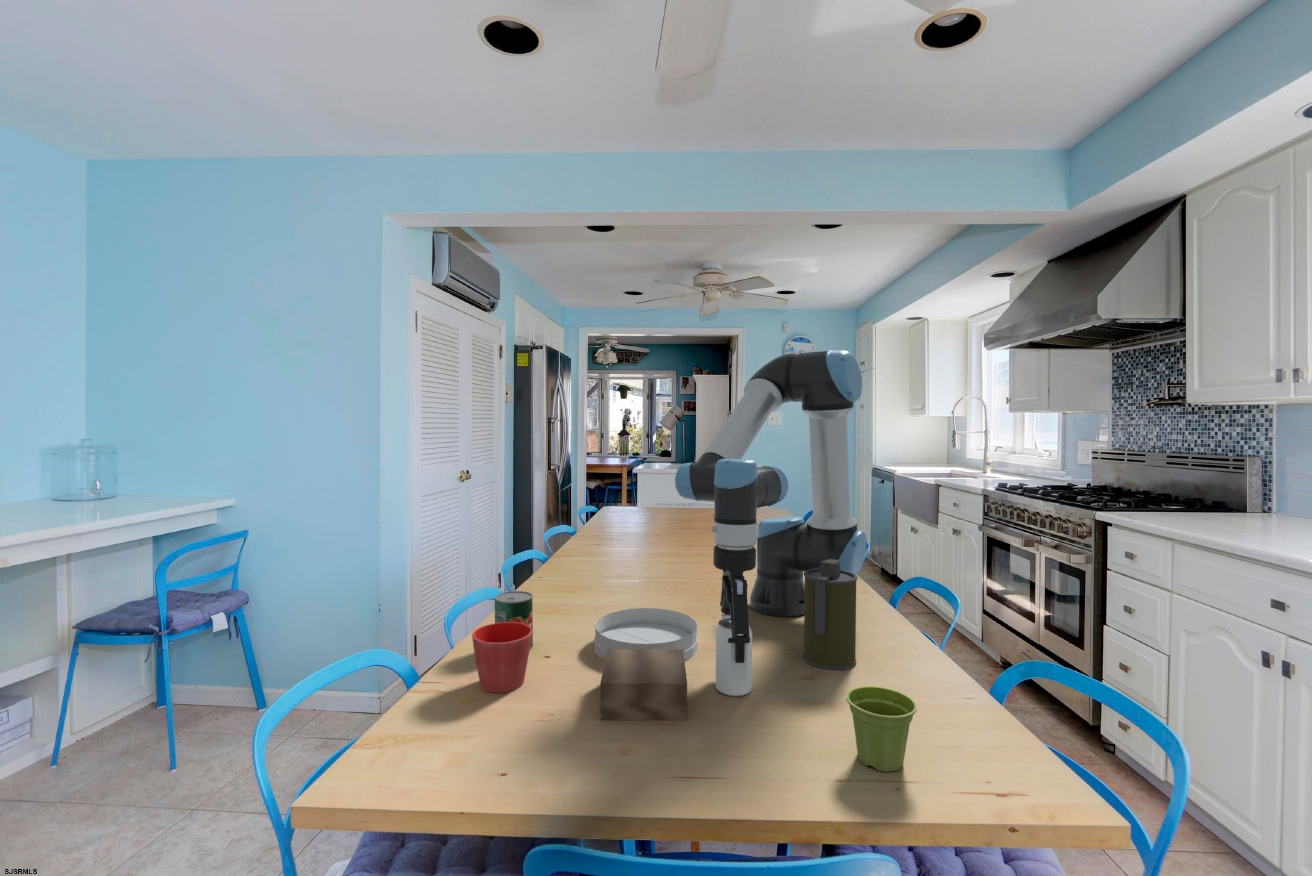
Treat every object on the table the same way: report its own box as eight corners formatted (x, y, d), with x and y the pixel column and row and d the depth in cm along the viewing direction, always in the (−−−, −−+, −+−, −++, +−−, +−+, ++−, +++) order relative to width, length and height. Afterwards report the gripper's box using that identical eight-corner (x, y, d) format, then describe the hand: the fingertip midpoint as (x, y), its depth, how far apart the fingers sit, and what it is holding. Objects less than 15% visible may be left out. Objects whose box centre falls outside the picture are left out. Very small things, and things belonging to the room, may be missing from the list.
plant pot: (835, 743, 89) (836, 686, 89) (895, 740, 90) (896, 684, 90) (862, 781, 80) (863, 718, 80) (929, 778, 81) (930, 715, 80)
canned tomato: (505, 639, 130) (504, 589, 130) (538, 642, 129) (538, 592, 128) (487, 653, 123) (487, 600, 122) (523, 656, 121) (523, 603, 121)
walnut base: (682, 681, 110) (683, 649, 110) (687, 720, 96) (687, 683, 96) (607, 681, 110) (607, 649, 110) (600, 719, 96) (600, 683, 96)
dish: (719, 646, 127) (719, 623, 127) (647, 680, 111) (647, 653, 111) (644, 622, 142) (644, 601, 142) (572, 648, 126) (572, 625, 126)
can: (750, 682, 110) (751, 617, 109) (752, 698, 103) (753, 630, 103) (715, 680, 110) (715, 616, 110) (715, 696, 104) (716, 628, 103)
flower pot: (543, 675, 112) (543, 624, 112) (511, 701, 102) (511, 646, 101) (495, 667, 116) (495, 618, 115) (459, 692, 105) (459, 638, 105)
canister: (813, 645, 127) (814, 553, 127) (862, 657, 121) (864, 560, 121) (793, 662, 118) (795, 563, 118) (846, 676, 112) (847, 571, 112)
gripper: (707, 532, 118) (706, 637, 119) (721, 561, 93) (719, 694, 94) (745, 532, 118) (743, 638, 119) (769, 562, 93) (767, 695, 94)
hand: (733, 663), depth 106 cm, fingers open, 13 cm apart
